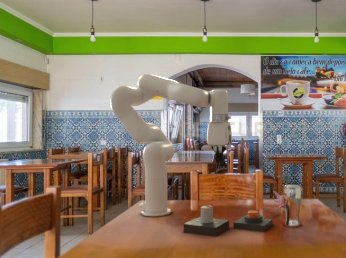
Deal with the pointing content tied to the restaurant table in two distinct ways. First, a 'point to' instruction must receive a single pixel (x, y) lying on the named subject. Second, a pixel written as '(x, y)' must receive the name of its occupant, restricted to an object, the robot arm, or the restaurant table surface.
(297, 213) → the beer glass
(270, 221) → the power block
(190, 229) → the panel
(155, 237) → the restaurant table surface
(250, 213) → the power button
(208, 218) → the timer knob
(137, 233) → the restaurant table surface
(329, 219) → the restaurant table surface
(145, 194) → the robot arm
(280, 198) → the lily
